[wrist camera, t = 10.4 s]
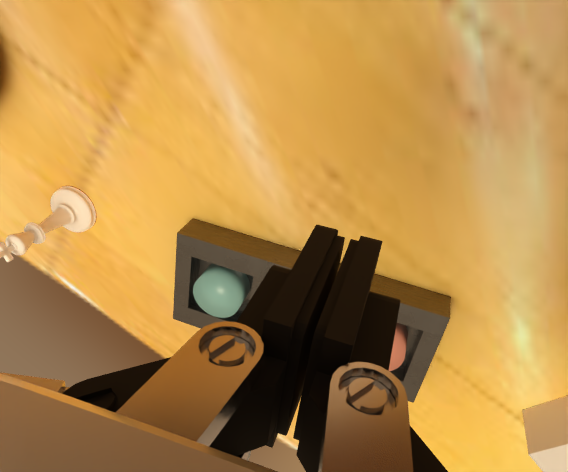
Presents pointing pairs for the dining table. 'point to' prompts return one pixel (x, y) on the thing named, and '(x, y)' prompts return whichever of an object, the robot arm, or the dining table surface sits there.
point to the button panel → (263, 255)
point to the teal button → (221, 290)
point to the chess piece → (54, 221)
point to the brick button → (398, 347)
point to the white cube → (548, 434)
